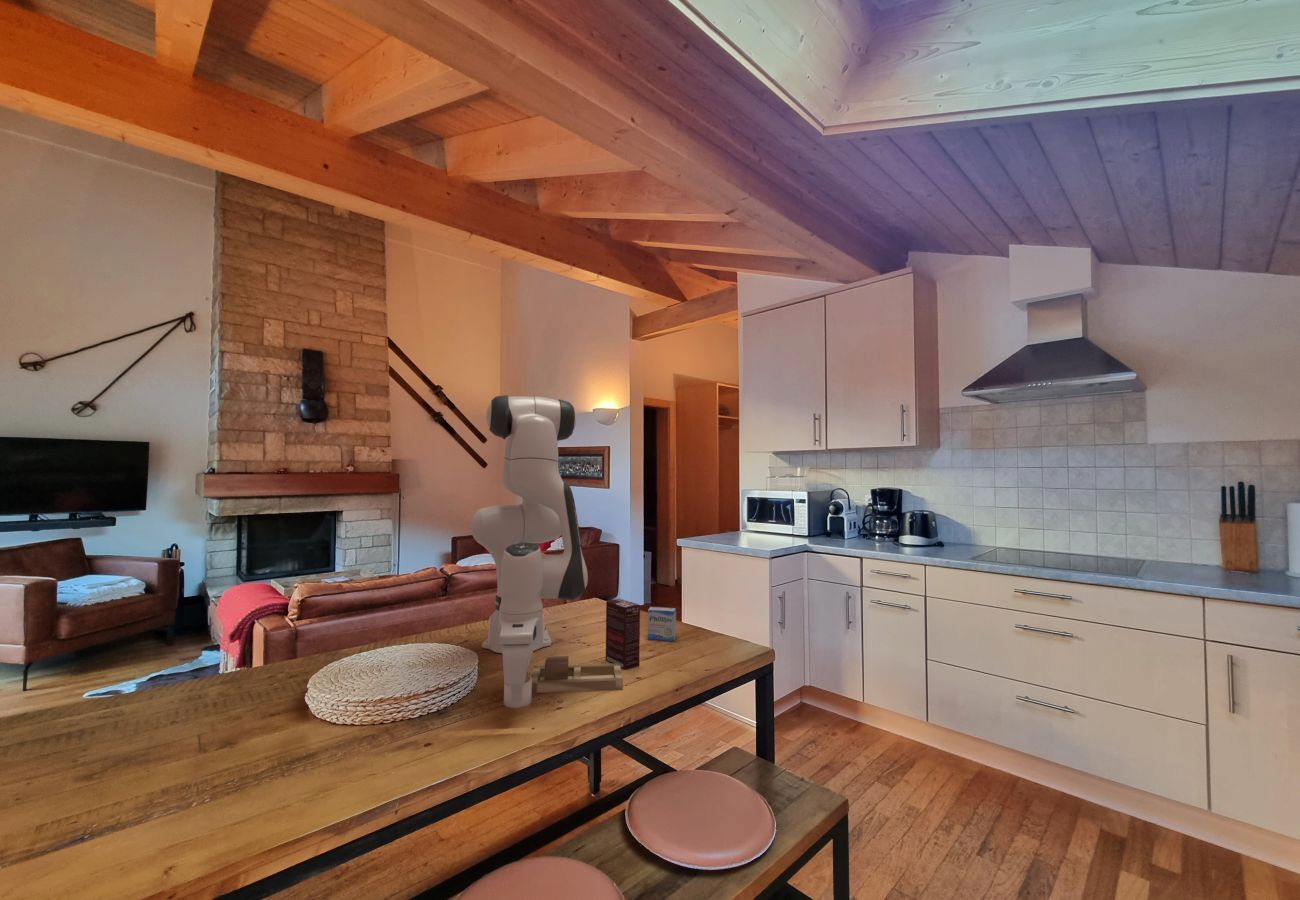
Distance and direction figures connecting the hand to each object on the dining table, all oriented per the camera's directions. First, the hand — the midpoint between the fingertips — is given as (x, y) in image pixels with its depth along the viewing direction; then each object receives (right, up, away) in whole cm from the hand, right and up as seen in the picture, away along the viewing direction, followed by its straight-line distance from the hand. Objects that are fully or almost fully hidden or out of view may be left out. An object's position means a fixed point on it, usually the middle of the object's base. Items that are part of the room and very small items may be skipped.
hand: (519, 691), depth 109 cm
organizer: (+10, -4, +11) cm, 15 cm away
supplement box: (+20, -5, +23) cm, 31 cm away
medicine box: (+30, -6, +45) cm, 55 cm away
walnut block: (+6, -3, +10) cm, 12 cm away
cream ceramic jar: (0, -3, 0) cm, 3 cm away
